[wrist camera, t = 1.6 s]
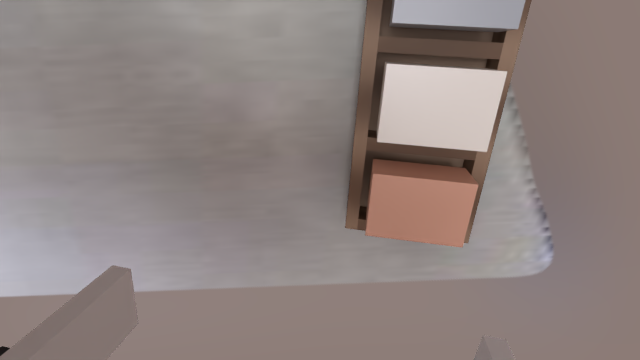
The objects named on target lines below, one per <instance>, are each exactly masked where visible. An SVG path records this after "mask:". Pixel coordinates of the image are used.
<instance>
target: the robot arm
mask: <svg viewBox="0 0 640 360" xmlns="http://www.w3.org/2000/svg"><path fill="white" fill-rule="evenodd" d="M137 324H138V317H137V310H136V303H135V296H134V289H133V282H132V275H131V269H128V268H123V267H118V266H111V267H110V268H109V269H107V270H106V271H105V272H104V273H103V274H101V275H100V276H99V277H98V278H96V279H95V280H94V281H93V282H91V283H90V284H89V285H88V286H86V287H85V288H84V289H83V290H82V291H80V292H79V293H78V294H77V295H75V296H74V297H73V298H72V299H70V300H69V301H68V302H67V303H65V304H64V305H63V306H62V307H61V308H59V309H58V310H57V311H56V312H54V313H53V314H52V315H51V316H50V317H48V318H47V319H46V320H45V321H43V322H42V323H41V324H40V325H38V326H37V327H36V328H35V329H33V330H32V331H31V332H30V333H29V334H27V335H26V336H25V337H24V338H22V339H21V340H20V341H19V342H17V343H16V344H15V345H14V346H12V347H11V348H7V347H3V346H2V347H0V360H107V359H108V358H109V356H110V355H111V354H112V353H113V352H114V351H115V350H116V348H117V347H118V346H119V345H120V344H121V343H122V342H123V340H124V339H125V338H126V337H127V336H128V335H129V333H130V332H131V331H132V330H133V329H134V328H135V327H136V326H137ZM474 360H515V357H514V355H513V353H512V351H511V349H510V347H509V345H508V342H507V340H506V339H500V338H495V337H490V336H485V335H483V337H482V339H481V342H480V345H479V347H478V350H477V352H476V355H475V358H474Z"/></svg>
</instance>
